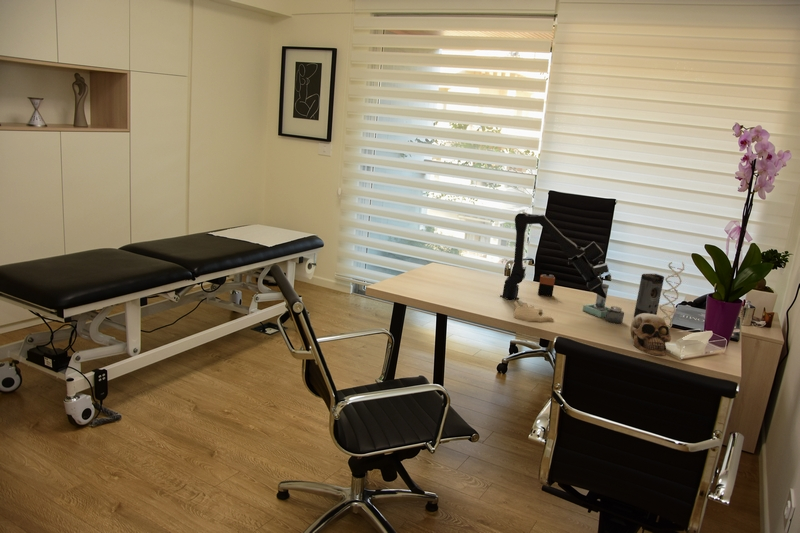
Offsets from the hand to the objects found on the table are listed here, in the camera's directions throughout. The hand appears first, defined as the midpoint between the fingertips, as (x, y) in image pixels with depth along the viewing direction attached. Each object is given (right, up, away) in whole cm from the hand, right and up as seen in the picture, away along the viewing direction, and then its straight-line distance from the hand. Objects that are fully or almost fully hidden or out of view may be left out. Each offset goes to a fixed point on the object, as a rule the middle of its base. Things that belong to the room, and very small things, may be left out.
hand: (605, 295), depth 271 cm
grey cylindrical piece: (-2, -8, +2) cm, 8 cm away
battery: (-21, -1, +25) cm, 32 cm away
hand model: (-35, -8, -12) cm, 38 cm away
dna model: (+18, -15, -17) cm, 29 cm away
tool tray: (-2, -8, +2) cm, 9 cm away
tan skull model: (+4, -18, -37) cm, 41 cm away
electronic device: (+18, -11, +1) cm, 21 cm away
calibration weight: (+1, -11, -8) cm, 13 cm away
